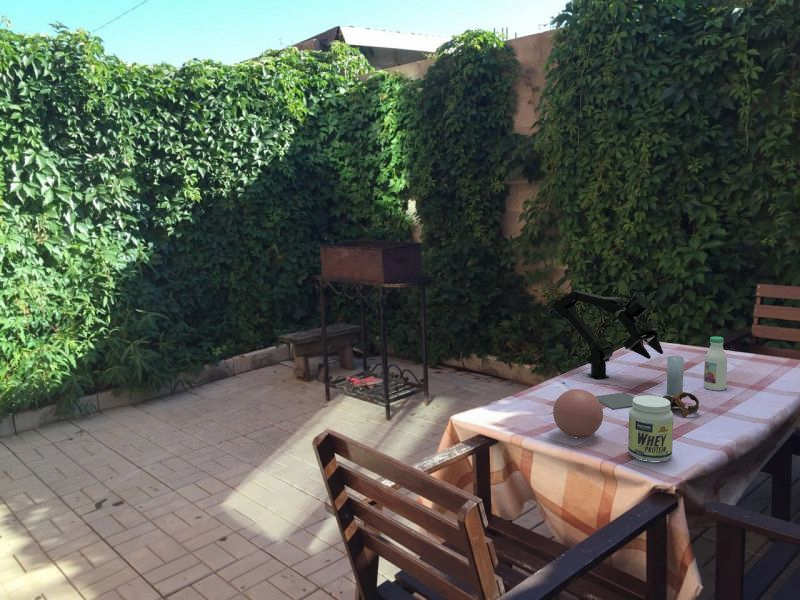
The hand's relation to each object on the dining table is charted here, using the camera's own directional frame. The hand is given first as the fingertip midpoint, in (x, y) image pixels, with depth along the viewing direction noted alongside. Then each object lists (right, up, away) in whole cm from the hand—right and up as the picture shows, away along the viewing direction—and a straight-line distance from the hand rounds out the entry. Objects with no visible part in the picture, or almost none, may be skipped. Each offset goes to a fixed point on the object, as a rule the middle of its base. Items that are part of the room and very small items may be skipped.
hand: (656, 356), depth 246 cm
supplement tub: (-25, -25, -57) cm, 67 cm away
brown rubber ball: (-40, -22, -38) cm, 60 cm away
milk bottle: (+23, -13, +1) cm, 26 cm away
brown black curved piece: (-1, -18, -23) cm, 29 cm away
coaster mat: (-18, -16, -9) cm, 26 cm away
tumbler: (+5, -14, -4) cm, 15 cm away
